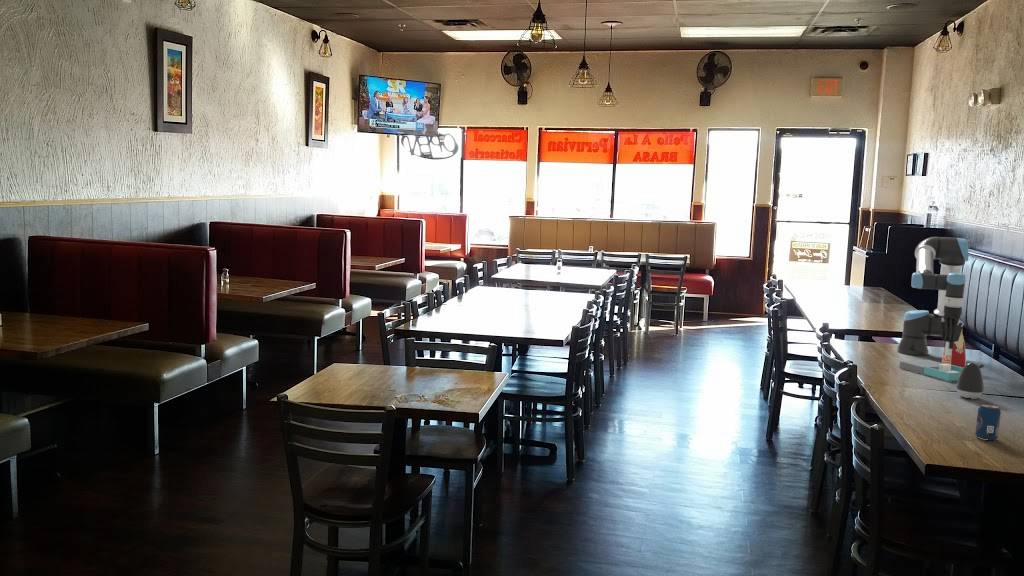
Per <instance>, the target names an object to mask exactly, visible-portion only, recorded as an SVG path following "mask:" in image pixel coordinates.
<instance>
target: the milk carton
mask: <svg viewBox="0 0 1024 576" xmlns="http://www.w3.org/2000/svg"><path fill="white" fill-rule="evenodd" d="M966 349H967V348H966V343H965V339H964V335H963V330H962V331H961V334H960V337H959V340H958V341H956V342H954V347H953V349H952V354H951V355H949V356H947V355H945V347H943V353H942V359H941V363H943V364H950V365H954V366H958V367H962V368H964V366H965V365H966V364H967V354H966V353H967V352H966Z"/></svg>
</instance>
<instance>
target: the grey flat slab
mask: <svg viewBox="0 0 1024 576" xmlns="http://www.w3.org/2000/svg"><path fill="white" fill-rule="evenodd" d="M939 364H943V363H942V362H938V361H934V360H931V359H916V360H914V359H913V360H900V361H899V369H902V370H904V369H905V371H908V370H909V371H908V372H912V371H913V372H912V373H915V372H916V374H919V373H920V374H919V375H922V374H923V372H924V367H925V366H926V367H929V368H933V369H937V370H938V368H939Z"/></svg>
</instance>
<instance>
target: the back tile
mask: <svg viewBox="0 0 1024 576" xmlns="http://www.w3.org/2000/svg"><path fill="white" fill-rule="evenodd" d="M938 370H941V371H944V372H945V371H951V365H950V364H939V368H938Z"/></svg>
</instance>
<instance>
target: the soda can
mask: <svg viewBox="0 0 1024 576" xmlns="http://www.w3.org/2000/svg"><path fill="white" fill-rule="evenodd" d="M1001 414H1002V412H1001V409H1000V406H999V405H996V404H993V403H980V406H979V407H978V408H977V416H976V425H975V431H974V432H975V433H974V434H975V436H976V437H980V438H983V439H988V440H995V441H996V440H997V439H998V438H999V433H1000V432H999V431H1000V425H1001V424H1000V423H1001Z"/></svg>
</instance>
